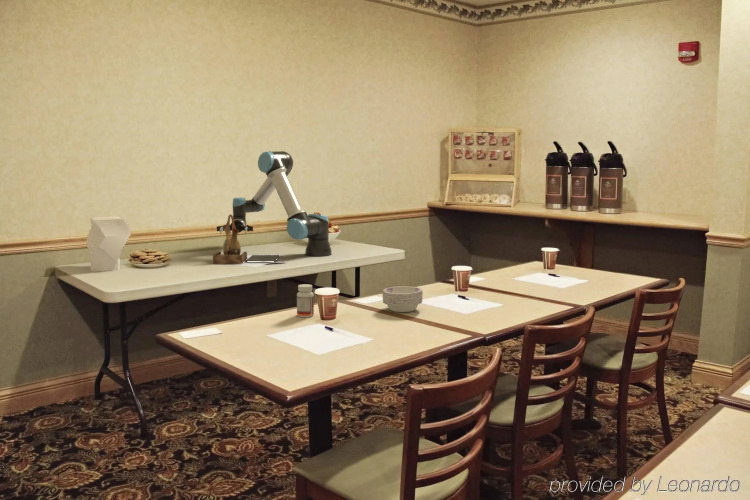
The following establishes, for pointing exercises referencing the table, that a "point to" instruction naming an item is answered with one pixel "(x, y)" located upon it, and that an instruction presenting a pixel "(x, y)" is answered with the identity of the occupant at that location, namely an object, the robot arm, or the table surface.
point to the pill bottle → (305, 301)
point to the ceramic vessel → (231, 239)
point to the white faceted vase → (106, 242)
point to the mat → (263, 258)
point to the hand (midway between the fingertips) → (233, 230)
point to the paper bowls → (402, 298)
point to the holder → (229, 258)
